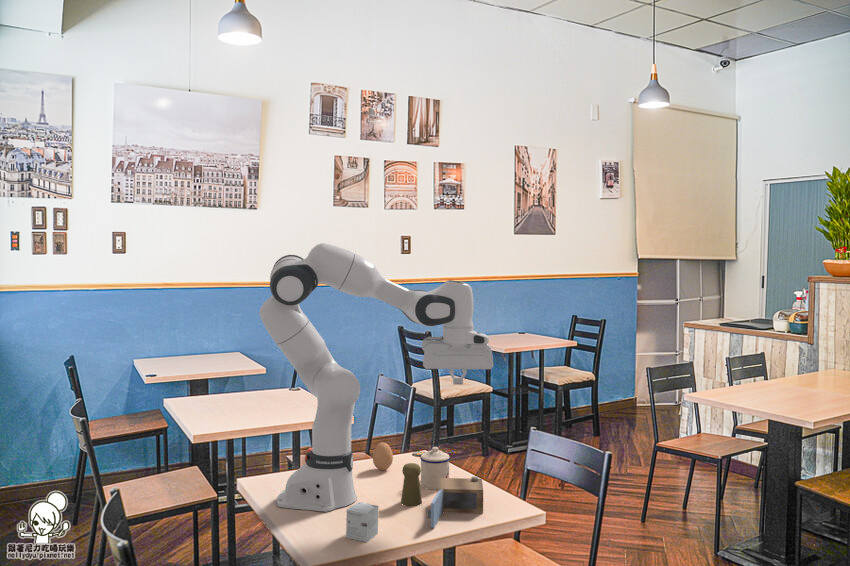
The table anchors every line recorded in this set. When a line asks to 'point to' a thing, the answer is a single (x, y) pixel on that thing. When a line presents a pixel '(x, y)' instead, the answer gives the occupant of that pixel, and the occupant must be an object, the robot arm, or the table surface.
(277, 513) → the table surface
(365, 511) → the skincare box
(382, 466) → the egg
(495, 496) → the table surface
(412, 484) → the olive green pepper mill
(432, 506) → the door
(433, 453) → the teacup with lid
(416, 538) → the table surface
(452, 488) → the case
